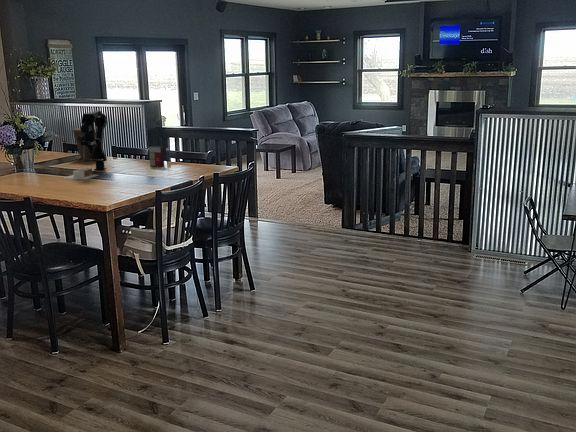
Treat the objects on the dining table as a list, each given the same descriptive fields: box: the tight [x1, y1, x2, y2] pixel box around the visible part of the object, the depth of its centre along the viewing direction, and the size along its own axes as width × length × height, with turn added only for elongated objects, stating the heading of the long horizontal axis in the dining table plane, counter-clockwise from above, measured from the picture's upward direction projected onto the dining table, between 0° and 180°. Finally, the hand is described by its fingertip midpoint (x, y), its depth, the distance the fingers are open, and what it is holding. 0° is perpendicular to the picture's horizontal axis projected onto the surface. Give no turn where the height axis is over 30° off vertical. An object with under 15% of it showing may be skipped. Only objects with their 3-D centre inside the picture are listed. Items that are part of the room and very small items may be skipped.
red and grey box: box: [148, 145, 165, 168], centre depth 434 cm, size 11×4×15 cm, turn 65°
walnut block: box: [72, 168, 93, 177], centre depth 394 cm, size 4×7×12 cm
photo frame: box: [72, 127, 98, 162], centre depth 467 cm, size 15×22×25 cm
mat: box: [61, 174, 100, 181], centre depth 392 cm, size 17×18×1 cm
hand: (92, 154), depth 405 cm, fingers closed
